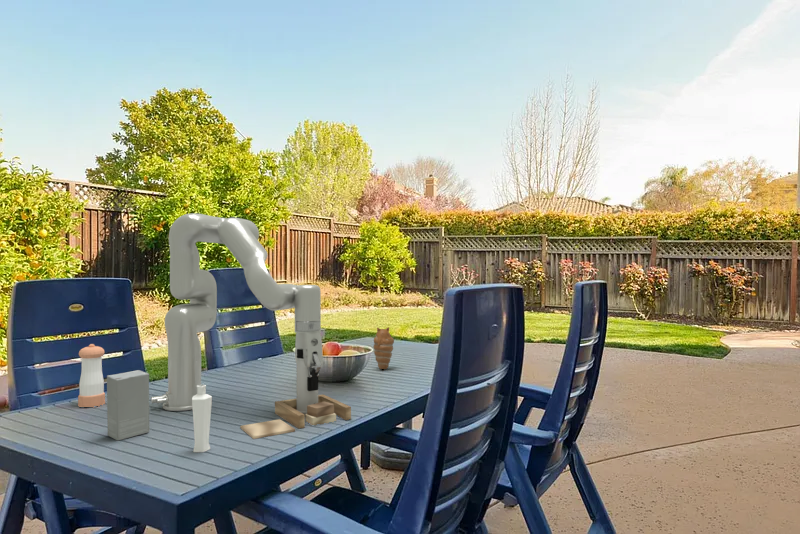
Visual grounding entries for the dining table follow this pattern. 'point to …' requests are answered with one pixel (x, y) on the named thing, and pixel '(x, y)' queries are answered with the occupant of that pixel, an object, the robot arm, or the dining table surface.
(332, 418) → the offcut lower
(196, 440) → the perfume bottle
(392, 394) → the dining table surface
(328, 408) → the offcut upper
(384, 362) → the cat ice cream
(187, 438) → the dining table surface
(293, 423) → the frame
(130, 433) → the skincare box
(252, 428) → the cork mat
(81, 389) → the pepper shaker
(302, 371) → the travel mug
